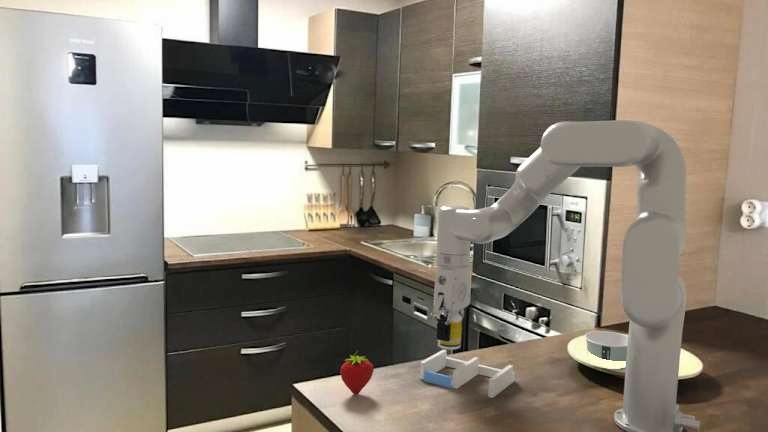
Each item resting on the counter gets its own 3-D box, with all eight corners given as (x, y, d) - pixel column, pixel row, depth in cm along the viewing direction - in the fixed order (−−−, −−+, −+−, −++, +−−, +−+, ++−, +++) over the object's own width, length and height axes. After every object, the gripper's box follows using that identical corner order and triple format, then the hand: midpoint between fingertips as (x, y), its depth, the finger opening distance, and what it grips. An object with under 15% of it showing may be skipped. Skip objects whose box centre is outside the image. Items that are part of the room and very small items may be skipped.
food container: (635, 374, 155) (637, 348, 154) (583, 368, 158) (585, 342, 157) (630, 358, 167) (632, 333, 166) (582, 353, 170) (583, 329, 169)
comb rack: (514, 381, 149) (514, 364, 148) (491, 398, 138) (492, 381, 138) (444, 364, 159) (445, 348, 158) (418, 379, 148) (418, 362, 148)
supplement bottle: (465, 349, 148) (466, 307, 147) (443, 351, 146) (445, 309, 145) (454, 341, 153) (455, 301, 152) (433, 343, 151) (435, 303, 150)
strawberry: (378, 396, 139) (379, 351, 137) (347, 402, 135) (347, 356, 133) (365, 386, 144) (366, 343, 142) (334, 392, 140) (335, 348, 139)
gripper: (449, 268, 138) (446, 350, 140) (484, 256, 152) (480, 331, 154) (419, 263, 142) (416, 343, 144) (455, 252, 156) (452, 325, 158)
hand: (449, 336), depth 149 cm, fingers closed on supplement bottle, 5 cm apart
